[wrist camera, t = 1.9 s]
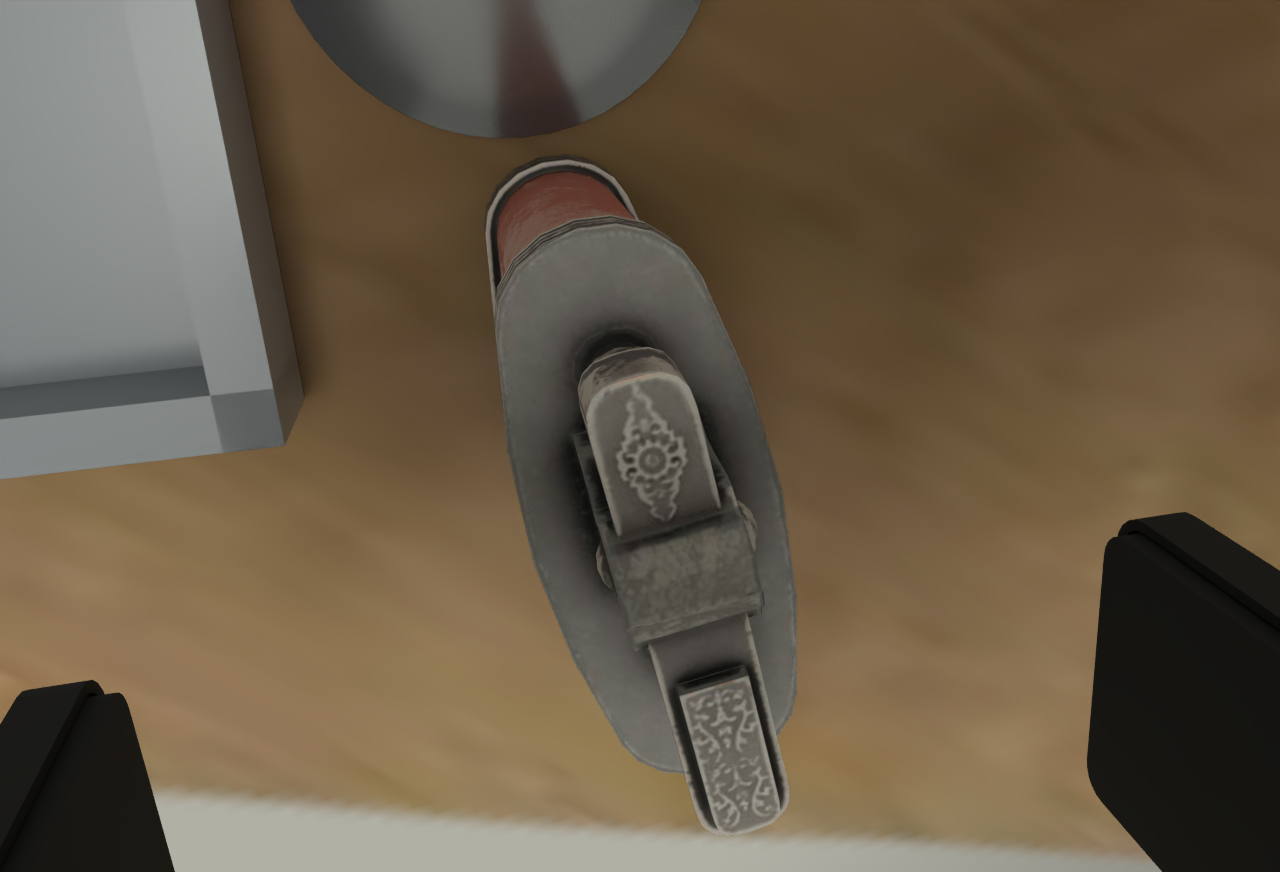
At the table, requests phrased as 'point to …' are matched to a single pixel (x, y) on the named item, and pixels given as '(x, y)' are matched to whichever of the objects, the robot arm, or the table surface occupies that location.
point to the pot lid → (499, 56)
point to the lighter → (645, 486)
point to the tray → (134, 241)
